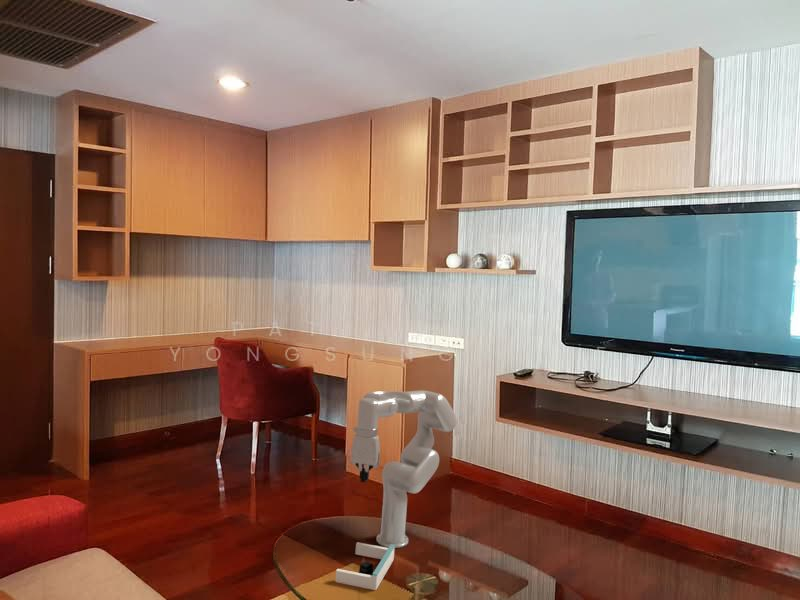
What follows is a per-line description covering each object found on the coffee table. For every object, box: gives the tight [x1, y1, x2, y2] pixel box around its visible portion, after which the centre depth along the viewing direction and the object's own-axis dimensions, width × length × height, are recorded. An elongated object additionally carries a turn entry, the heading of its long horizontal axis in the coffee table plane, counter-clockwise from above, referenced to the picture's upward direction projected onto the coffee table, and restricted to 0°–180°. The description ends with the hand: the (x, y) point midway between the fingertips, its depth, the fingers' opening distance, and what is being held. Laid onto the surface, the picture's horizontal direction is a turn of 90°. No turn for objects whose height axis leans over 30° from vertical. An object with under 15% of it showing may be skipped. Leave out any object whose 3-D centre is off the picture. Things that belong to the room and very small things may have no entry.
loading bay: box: [334, 541, 396, 591], centre depth 221 cm, size 23×14×5 cm, turn 166°
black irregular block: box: [357, 560, 375, 576], centre depth 218 cm, size 12×7×5 cm, turn 143°
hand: (363, 481), depth 228 cm, fingers closed
